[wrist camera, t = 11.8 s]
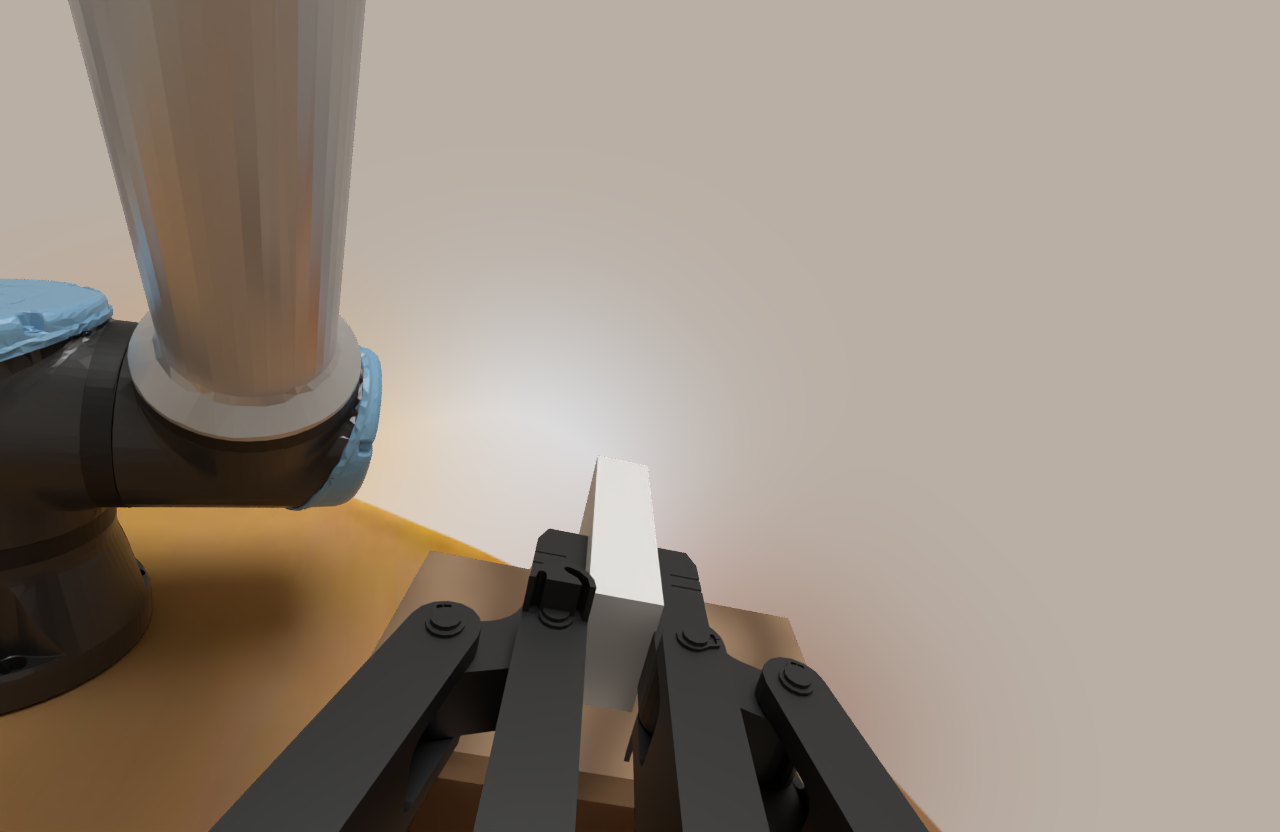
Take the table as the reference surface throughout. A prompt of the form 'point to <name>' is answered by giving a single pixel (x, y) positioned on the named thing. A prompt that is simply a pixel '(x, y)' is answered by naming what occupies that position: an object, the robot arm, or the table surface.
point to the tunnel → (602, 729)
